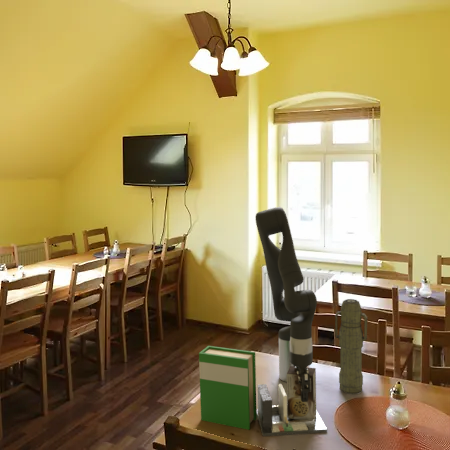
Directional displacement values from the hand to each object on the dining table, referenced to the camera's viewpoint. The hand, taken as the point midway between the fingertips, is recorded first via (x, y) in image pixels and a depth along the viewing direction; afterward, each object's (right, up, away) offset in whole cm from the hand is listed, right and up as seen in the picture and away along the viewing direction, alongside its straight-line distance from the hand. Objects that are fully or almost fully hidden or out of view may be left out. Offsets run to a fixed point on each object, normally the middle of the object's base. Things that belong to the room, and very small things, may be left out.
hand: (301, 395), depth 163 cm
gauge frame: (-4, -9, +1) cm, 10 cm away
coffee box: (0, -7, +1) cm, 7 cm away
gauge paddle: (-6, -8, -1) cm, 10 cm away
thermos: (+23, -6, +24) cm, 33 cm away
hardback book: (-25, -10, +3) cm, 27 cm away
